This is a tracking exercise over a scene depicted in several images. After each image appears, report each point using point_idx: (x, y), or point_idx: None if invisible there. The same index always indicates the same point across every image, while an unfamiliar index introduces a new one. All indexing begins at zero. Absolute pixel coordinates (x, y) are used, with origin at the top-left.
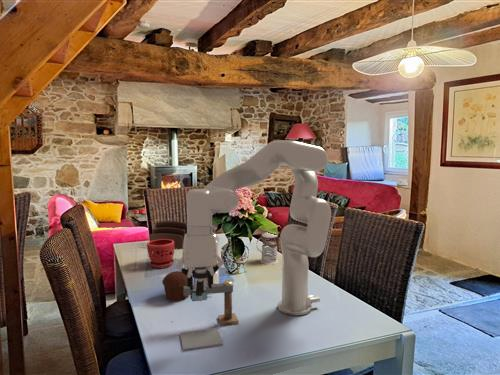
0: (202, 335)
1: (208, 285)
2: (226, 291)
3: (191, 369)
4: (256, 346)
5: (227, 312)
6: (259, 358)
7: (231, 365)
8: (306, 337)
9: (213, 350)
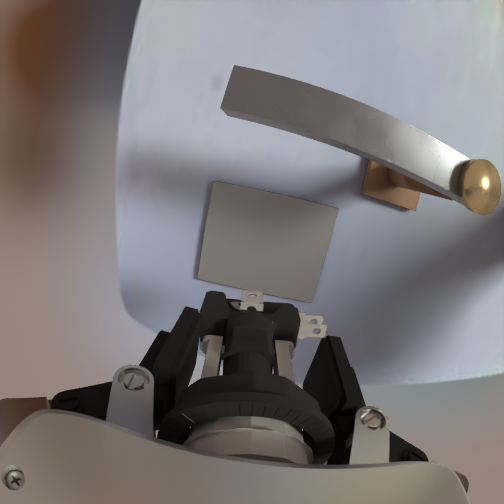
0: (275, 234)
1: (311, 371)
2: (446, 195)
3: (198, 351)
4: (377, 338)
5: (402, 186)
6: None
7: None
8: (470, 342)
9: None
